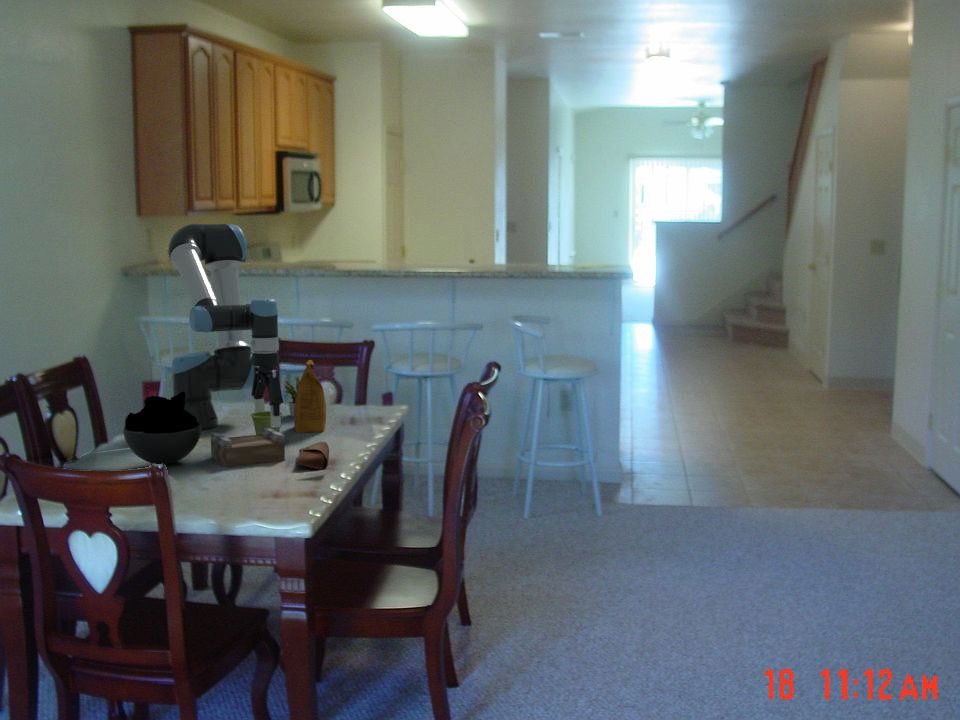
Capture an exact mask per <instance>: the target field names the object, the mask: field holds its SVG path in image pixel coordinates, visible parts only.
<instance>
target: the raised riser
mask: <svg viewBox="0 0 960 720" xmlns="http://www.w3.org/2000/svg"><path fill="white" fill-rule="evenodd" d="M285 448H286V447H285V434H284V433H283V434H282V433H281V432H280V431H279V432H277V431H275V430H273V429H270V428H268V427H262V434H259V435H256V434H251V435H241V436H231V437H227V436H224V435H222V434H221V433H219V432H217V431H213V432H212V431H211V432H210V453H211V454H210V455H211V457H210V458H212V459H214V461H216V462H218V463H220V464H221V465H223V466H224V467H226V468H232V467H240V466H247V465H249V466H250V465H256V464H266V463H274V462H280V461H286V457H285V455H286V454H285V453H286V451H285Z"/></svg>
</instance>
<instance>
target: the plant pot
mask: <svg viewBox="0 0 960 720" xmlns="http://www.w3.org/2000/svg"><path fill="white" fill-rule="evenodd" d="M283 415H284V412H282V411H280V419H281V420H282V418H283ZM250 417H251V418H252V423H253V427H254V431H255V435H259V434H262V427H268V428H270V429H273V430H275V431H277V432H279V433H280V429H281V427H275V428H271V416H270V410H265V411H263V412H256V413H255V412H253V413H251V414H250Z"/></svg>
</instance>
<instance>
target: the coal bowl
mask: <svg viewBox="0 0 960 720" xmlns="http://www.w3.org/2000/svg"><path fill="white" fill-rule="evenodd" d="M185 397H186V396H185V392H181V393H179V394H178V395H176V396H174V397H173V396H172V397H170V399H169V398H166V397H163V396H159V395H156V396H155V395H150V396H146V398H145V400H144V406H143V408H141V409H140V411H138V412H136V413H134V412H129V413H128V414H127V416H126V417H125V419H124V428H122V431H123V438H124V440H125V442H126V444H127V446H128V448H129V449H130V450H131V452H132V453H133V454H135V455H136V457H138V458H140V459H141V460H142V461H146V462H147V463H150V464H154V463H156V464H155V465H162V464H161V463H165V464H164V465H169V464H174V463H176V462H179V461H180V460H182V459H185V458H186V457H187V456H189V454H190V453H192V451H193V450H194V449H195V447H196V446H197V444H198V442H199V441H200V437H201V434H202V430H201V429H202V425H201V424H200V423H198V422H197V419H196V417H195V416H193V415H192V414H190V413H189V412H187V411H185V409H184V408H185V407H184V406H185Z"/></svg>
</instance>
